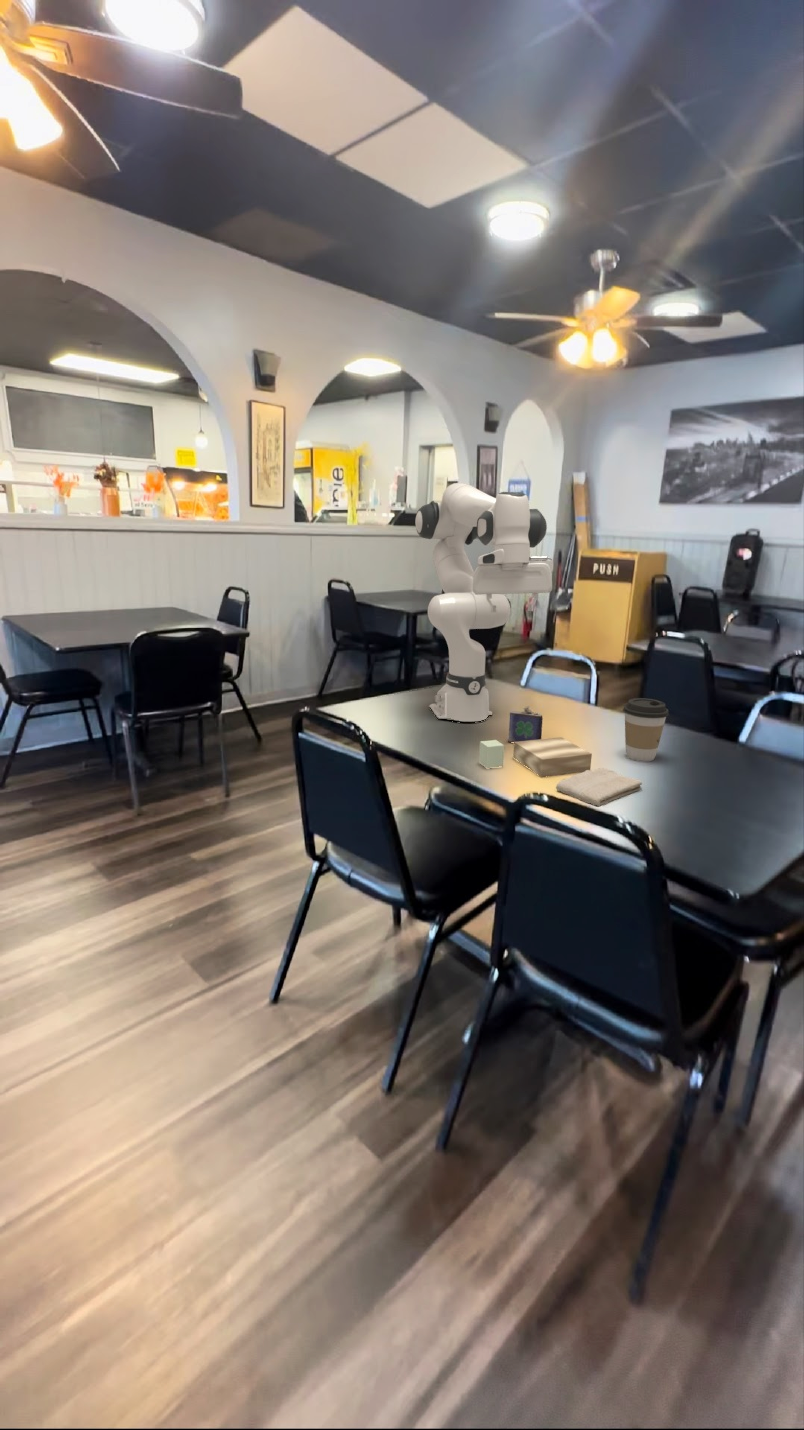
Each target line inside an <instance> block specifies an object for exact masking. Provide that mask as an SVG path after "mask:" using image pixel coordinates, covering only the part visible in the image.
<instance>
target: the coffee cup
mask: <svg viewBox="0 0 804 1430" xmlns="http://www.w3.org/2000/svg"><path fill="white" fill-rule="evenodd" d="M666 707H667V706H666V703H665V702H663V701H660V700H658V699H653V698H645V697H644V698H642V697H639V698H637V697H636V698H631V699H629V700H628V701H627V704H625V705H623V708H622V712H623V713H624V734H625V735H624V736H625V737H624V738H625V741H624V742H625V754H626V755H625V756H626V757H627V758H628V759H630V760H632V761H635V762H636V761H637V762H642V763H643V762H645V763H647V762H653V761H654V760H655V758H656V756H657V751H658V748H659V744H660V741H661V737H662V733H663V730H664V725H665V722H666V719H667V717H668V716H669V715H670V714H669V709H668V708H666Z"/></svg>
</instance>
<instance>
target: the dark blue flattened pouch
mask: <svg viewBox="0 0 804 1430" xmlns="http://www.w3.org/2000/svg"><path fill="white" fill-rule="evenodd" d="M543 719H544V718H543V714H541V713H538V712H537V711H536V712H534V711H532V710H531V709H530V706H529V705H528V706H525V707H523V711H517V710H513V711H512V710H511V711H510V712H509V727H508V739H507V742H508V741H509V742H508V743H510V742H519V741H529V740H538V739H542V731H543Z"/></svg>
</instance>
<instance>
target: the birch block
mask: <svg viewBox="0 0 804 1430" xmlns="http://www.w3.org/2000/svg"><path fill="white" fill-rule="evenodd" d="M512 753H513V756H512V757H514V758H515V759H517V760H518V761H519V762H521V763H522V764H523V765H525V766H527V767H528V768H530V769H531V770H532V771H534V772H535V773H536V774H535V773H534V772H533V773H534V774H535V775H537V774H538V775H539V776H538V775H537V776H538V777H540V778H548V776H549V777H555V776H564V775H571V774H580V773H583V772H585V771H586V770H591V766H592V756H593V754H592V753H591V752H590V751H588V750H585V749H584V748H582V747H580V746H578V745H576V744H574V743H573V742H570V741H569V740H567V739H565V738H563V737H561V736H558V737H550V738H549V737H548V738H541V739H538V740H529V741H519V742H514V744H513V752H512ZM519 762H518V763H519ZM522 764H521V765H522ZM523 765H522V766H523ZM525 766H524V767H525ZM528 768H527V769H528ZM531 770H530V771H531ZM532 771H531V772H532ZM546 776H547V777H546Z"/></svg>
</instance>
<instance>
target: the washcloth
mask: <svg viewBox="0 0 804 1430" xmlns="http://www.w3.org/2000/svg"><path fill="white" fill-rule="evenodd" d="M641 785H643V782H642V781H641V780H640V779H636V778H632V777H629V776H628V777H627V776H625V775H622V774H620V773H618V772H617V771H615V770H614V771H613V770H610V769H607V768H604V767H600V768H597V769H593V770H591V769H590V770H586V771H585V772H581V773H576V774H574V775H571V776H570V777H567V778H563V779H561V780H560V781H559V782H558V783H557V784H556V786H555V789H556V790H557V791H558V792H560V791H561V792H560V793H562V792H563V794H565V795H566V796H569V795H570V796H571V797H574V798H576V799H578V800H580V801H582V800H583V802H585V801H586V802H585V803H587V802H588V804H590V803H591V804H590V805H592V804H594V805H593V806H595V805H597V806H596V807H600V806H603V805H605V804H607V803H610V802H613V801H615V800H618V799H621V798H622V797H625V796H627V795H630V794H633V793H636V792H638V791H642V786H641Z"/></svg>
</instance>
